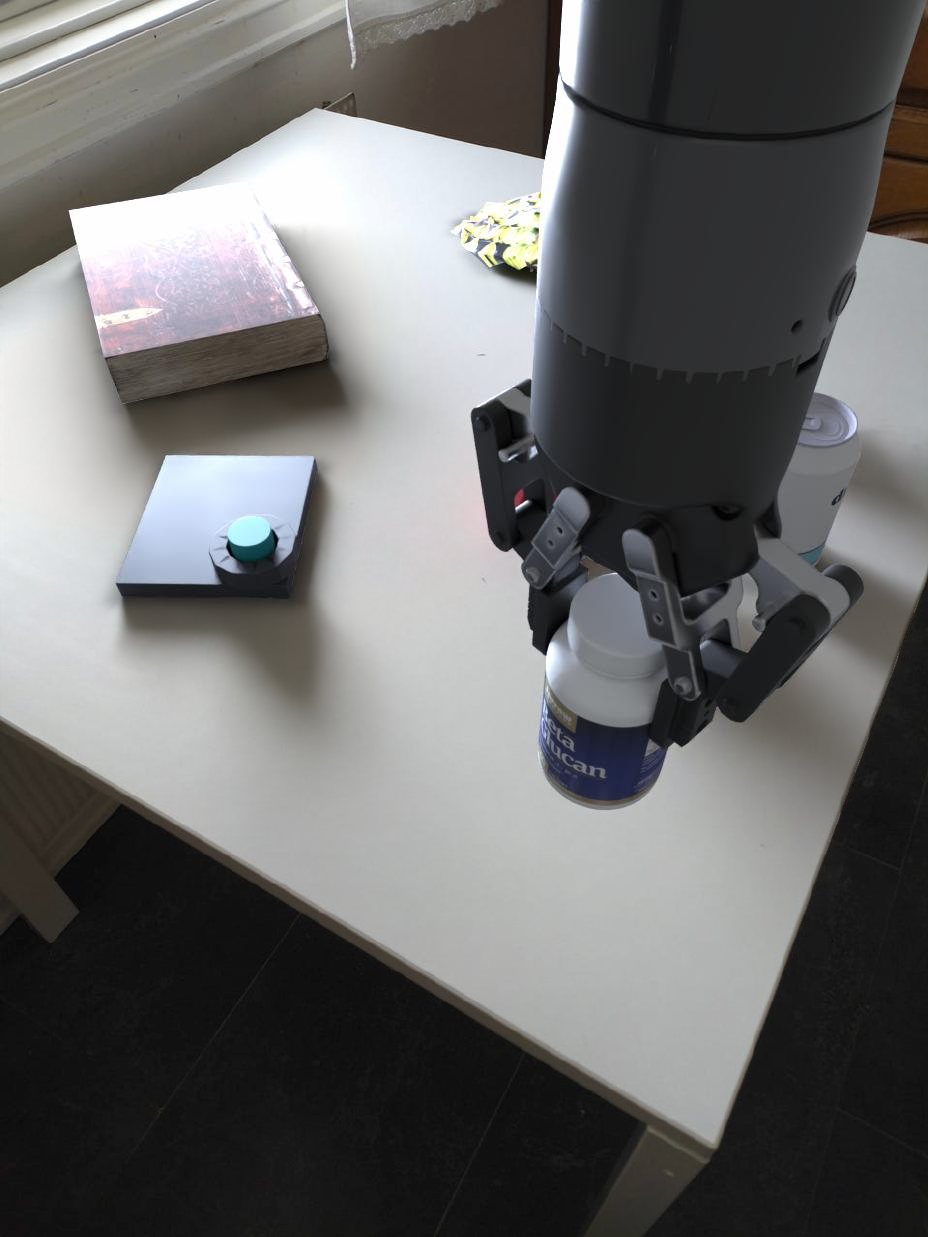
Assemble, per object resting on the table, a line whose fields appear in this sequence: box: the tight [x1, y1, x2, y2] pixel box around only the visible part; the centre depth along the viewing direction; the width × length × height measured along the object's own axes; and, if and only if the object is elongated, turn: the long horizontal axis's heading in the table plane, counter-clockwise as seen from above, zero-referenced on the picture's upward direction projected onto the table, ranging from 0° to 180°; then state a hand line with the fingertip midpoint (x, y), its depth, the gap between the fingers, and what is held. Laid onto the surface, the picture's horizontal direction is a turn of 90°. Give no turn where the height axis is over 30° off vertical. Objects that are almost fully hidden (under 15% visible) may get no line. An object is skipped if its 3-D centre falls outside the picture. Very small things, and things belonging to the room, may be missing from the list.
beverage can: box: [778, 391, 862, 568], centre depth 61 cm, size 7×7×12 cm
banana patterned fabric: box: [450, 191, 542, 272], centre depth 94 cm, size 20×16×7 cm
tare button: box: [227, 517, 275, 562], centre depth 62 cm, size 3×3×2 cm
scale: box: [115, 454, 319, 600], centre depth 67 cm, size 14×12×3 cm
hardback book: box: [68, 180, 330, 405], centre depth 87 cm, size 29×19×5 cm, turn 22°
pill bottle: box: [537, 572, 669, 811], centre depth 36 cm, size 5×5×10 cm
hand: (612, 683), depth 35 cm, fingers closed on pill bottle, 5 cm apart
